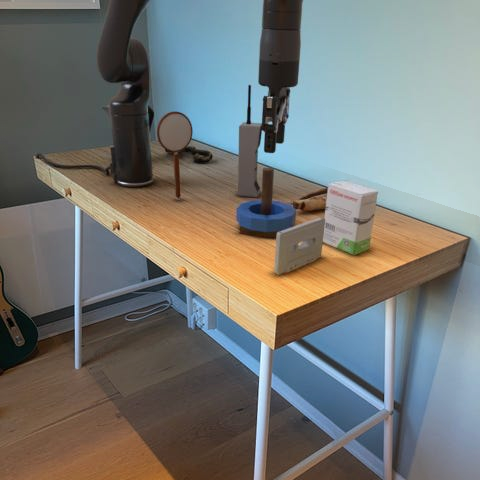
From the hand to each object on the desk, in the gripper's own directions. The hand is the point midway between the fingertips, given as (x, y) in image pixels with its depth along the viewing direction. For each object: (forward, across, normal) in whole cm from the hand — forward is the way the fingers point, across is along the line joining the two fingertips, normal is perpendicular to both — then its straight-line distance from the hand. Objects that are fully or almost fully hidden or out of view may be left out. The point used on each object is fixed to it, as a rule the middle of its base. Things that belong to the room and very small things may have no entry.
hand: (274, 147), depth 100 cm
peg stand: (+15, +5, 0) cm, 16 cm away
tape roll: (+14, +4, 0) cm, 15 cm away
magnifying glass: (+16, -6, -24) cm, 29 cm away
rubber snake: (+16, -45, -36) cm, 60 cm away
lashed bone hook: (+16, -13, +9) cm, 22 cm away
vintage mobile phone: (+16, -16, -9) cm, 24 cm away
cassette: (+16, +20, +10) cm, 28 cm away
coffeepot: (+16, -37, -51) cm, 65 cm away
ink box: (+16, +9, +17) cm, 25 cm away
